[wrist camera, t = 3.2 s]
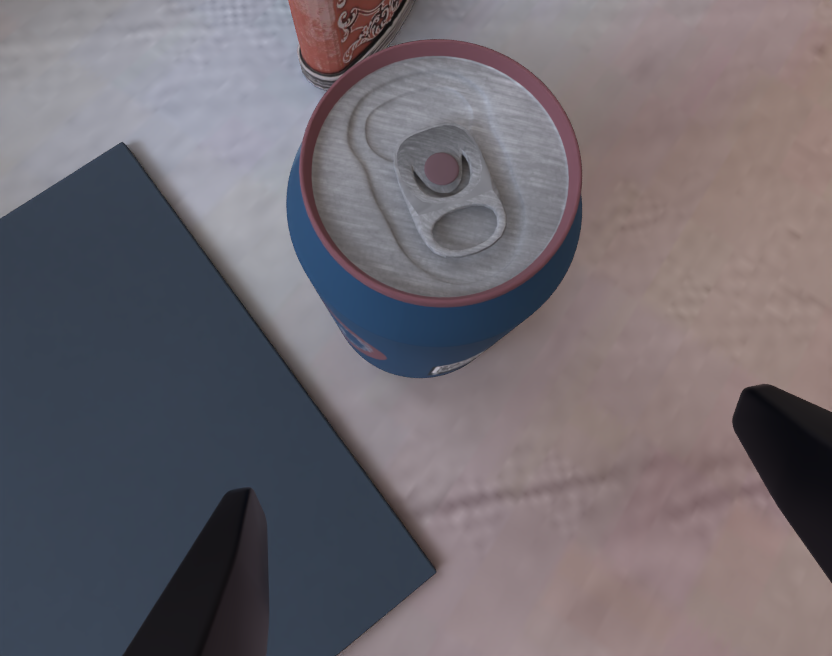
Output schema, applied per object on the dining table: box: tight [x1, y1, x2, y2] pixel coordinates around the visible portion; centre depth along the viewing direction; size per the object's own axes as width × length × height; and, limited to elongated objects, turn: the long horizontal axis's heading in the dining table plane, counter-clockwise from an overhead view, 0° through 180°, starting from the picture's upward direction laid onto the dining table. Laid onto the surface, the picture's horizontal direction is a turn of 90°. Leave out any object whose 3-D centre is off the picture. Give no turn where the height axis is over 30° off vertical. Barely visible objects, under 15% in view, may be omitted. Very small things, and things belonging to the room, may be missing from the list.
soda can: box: [286, 39, 582, 378], centre depth 17 cm, size 7×7×12 cm
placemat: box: [0, 142, 436, 656], centre depth 21 cm, size 22×15×1 cm
